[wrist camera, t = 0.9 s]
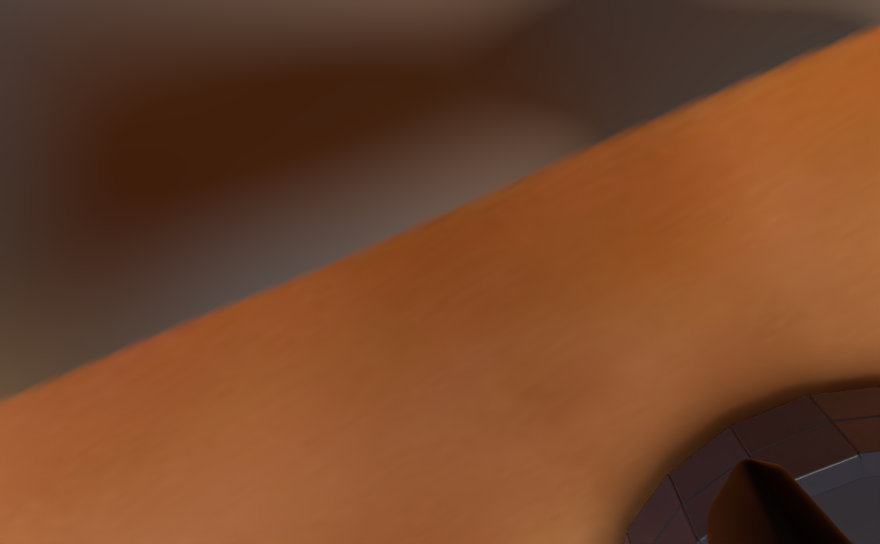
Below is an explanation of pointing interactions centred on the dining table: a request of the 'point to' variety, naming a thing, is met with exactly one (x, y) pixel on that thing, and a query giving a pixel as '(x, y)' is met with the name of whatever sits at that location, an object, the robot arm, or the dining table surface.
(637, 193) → the dining table surface
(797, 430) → the bowl
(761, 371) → the dining table surface
